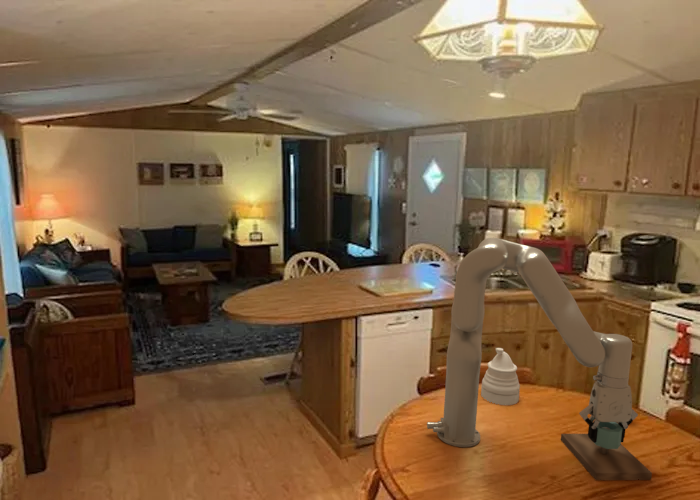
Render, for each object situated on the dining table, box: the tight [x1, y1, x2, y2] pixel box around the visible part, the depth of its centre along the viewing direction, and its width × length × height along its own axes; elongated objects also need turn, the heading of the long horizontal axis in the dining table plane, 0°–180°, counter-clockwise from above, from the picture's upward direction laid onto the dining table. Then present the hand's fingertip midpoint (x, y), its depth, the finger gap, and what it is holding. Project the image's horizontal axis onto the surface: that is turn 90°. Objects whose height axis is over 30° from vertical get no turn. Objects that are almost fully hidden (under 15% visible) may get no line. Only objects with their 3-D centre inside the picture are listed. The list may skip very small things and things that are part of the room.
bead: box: [595, 422, 623, 449], centre depth 144 cm, size 7×7×5 cm
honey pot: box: [480, 347, 521, 406], centre depth 182 cm, size 13×13×18 cm
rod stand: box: [560, 427, 653, 481], centre depth 145 cm, size 15×20×9 cm
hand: (605, 439), depth 145 cm, fingers closed on bead, 7 cm apart
